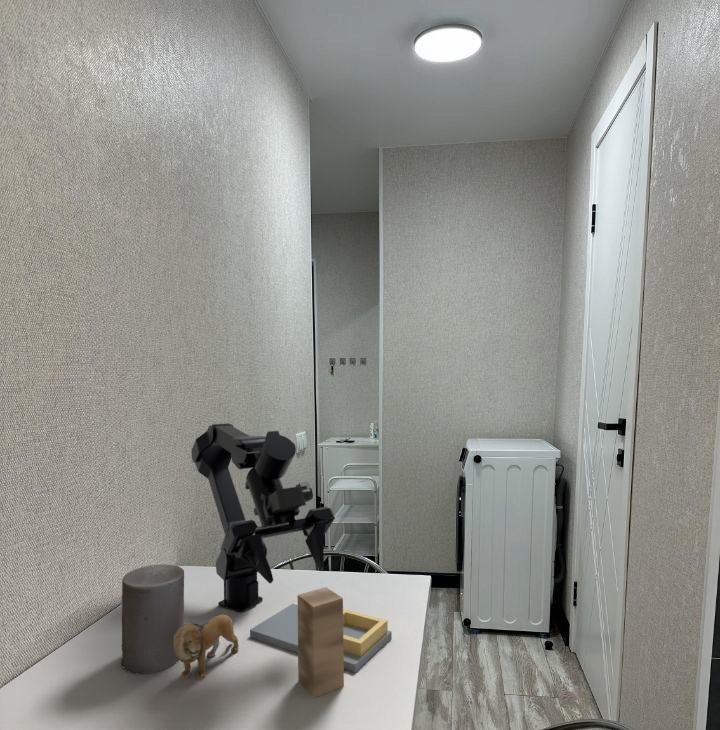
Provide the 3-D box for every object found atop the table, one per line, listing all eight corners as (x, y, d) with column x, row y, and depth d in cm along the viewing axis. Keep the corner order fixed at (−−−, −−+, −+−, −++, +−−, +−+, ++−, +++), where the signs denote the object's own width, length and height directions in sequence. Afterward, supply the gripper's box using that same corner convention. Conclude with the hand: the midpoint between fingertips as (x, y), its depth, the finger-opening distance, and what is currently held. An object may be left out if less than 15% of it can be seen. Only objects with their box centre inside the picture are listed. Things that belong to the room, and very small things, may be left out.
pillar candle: (107, 667, 83) (107, 573, 83) (152, 637, 93) (152, 553, 93) (155, 680, 80) (155, 582, 80) (197, 648, 89) (197, 560, 89)
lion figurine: (195, 696, 76) (194, 633, 76) (164, 690, 77) (163, 628, 77) (245, 645, 90) (245, 592, 90) (218, 640, 91) (218, 589, 91)
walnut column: (298, 681, 79) (297, 594, 79) (327, 670, 82) (326, 586, 82) (314, 697, 75) (313, 606, 75) (343, 686, 78) (342, 598, 78)
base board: (250, 636, 93) (249, 618, 93) (292, 609, 103) (292, 593, 103) (355, 672, 81) (355, 651, 81) (391, 638, 91) (391, 619, 91)
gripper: (229, 474, 84) (257, 562, 75) (328, 461, 95) (364, 538, 86) (213, 512, 91) (237, 598, 81) (308, 497, 101) (339, 571, 92)
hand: (297, 575), depth 85 cm, fingers open, 9 cm apart
